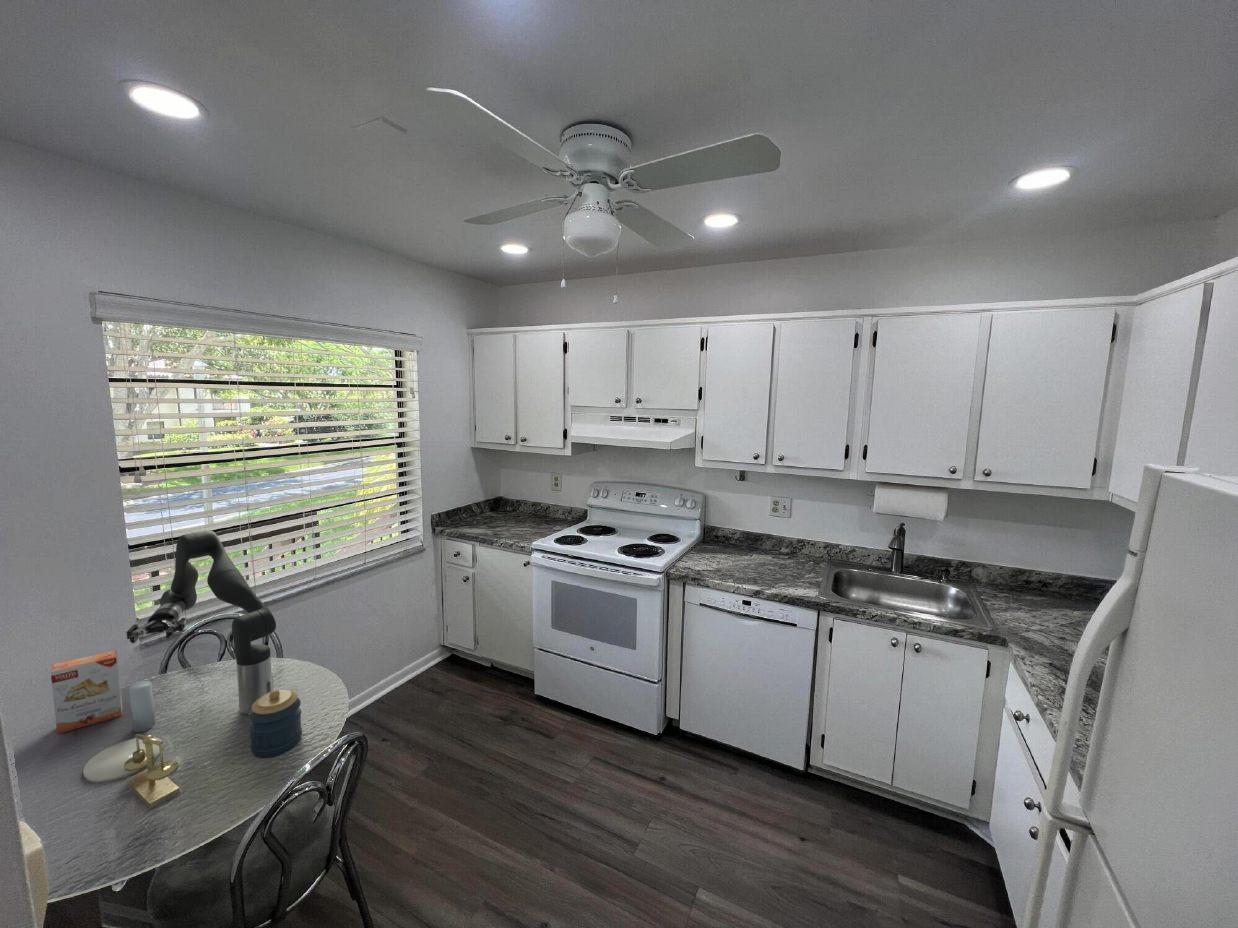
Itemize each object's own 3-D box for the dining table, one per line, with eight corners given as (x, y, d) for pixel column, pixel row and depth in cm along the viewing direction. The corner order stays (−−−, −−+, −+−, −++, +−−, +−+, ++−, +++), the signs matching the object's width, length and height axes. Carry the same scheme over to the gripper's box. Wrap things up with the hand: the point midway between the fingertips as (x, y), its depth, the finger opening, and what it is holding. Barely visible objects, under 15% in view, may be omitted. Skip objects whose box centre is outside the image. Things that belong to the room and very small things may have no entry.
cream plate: (170, 734, 152) (169, 730, 151) (152, 770, 138) (152, 765, 138) (98, 751, 144) (97, 746, 144) (72, 790, 130) (71, 785, 130)
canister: (312, 733, 155) (310, 682, 153) (275, 763, 143) (272, 707, 140) (278, 725, 158) (276, 675, 155) (239, 753, 145) (235, 699, 143)
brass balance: (185, 797, 130) (180, 739, 127) (155, 814, 124) (149, 753, 122) (150, 765, 140) (145, 710, 137) (121, 779, 134) (115, 722, 132)
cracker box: (57, 735, 149) (49, 671, 146) (59, 725, 153) (52, 663, 150) (122, 716, 159) (116, 656, 156) (123, 707, 163) (117, 648, 160)
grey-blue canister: (157, 719, 158) (153, 679, 156) (152, 729, 154) (148, 687, 152) (136, 724, 156) (132, 683, 154) (130, 733, 151) (126, 692, 149)
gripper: (137, 610, 172) (119, 631, 158) (190, 603, 178) (177, 623, 165) (139, 630, 173) (121, 653, 159) (192, 623, 180) (179, 644, 166)
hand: (150, 637), depth 162 cm, fingers open, 8 cm apart
